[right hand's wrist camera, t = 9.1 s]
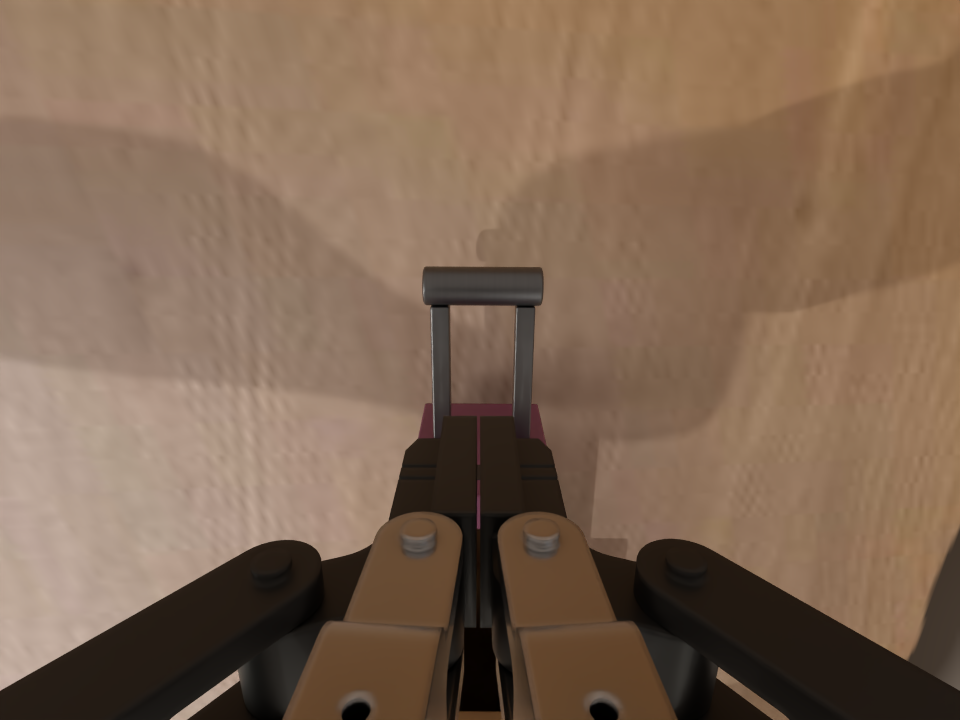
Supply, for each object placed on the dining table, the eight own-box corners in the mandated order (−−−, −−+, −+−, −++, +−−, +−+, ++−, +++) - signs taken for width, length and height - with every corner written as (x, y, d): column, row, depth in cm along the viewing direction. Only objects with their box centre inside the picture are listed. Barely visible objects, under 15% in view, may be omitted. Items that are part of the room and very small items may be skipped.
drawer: (420, 250, 21) (396, 294, 15) (544, 251, 21) (570, 294, 15) (435, 738, 29) (423, 891, 23) (522, 739, 29) (533, 891, 23)
